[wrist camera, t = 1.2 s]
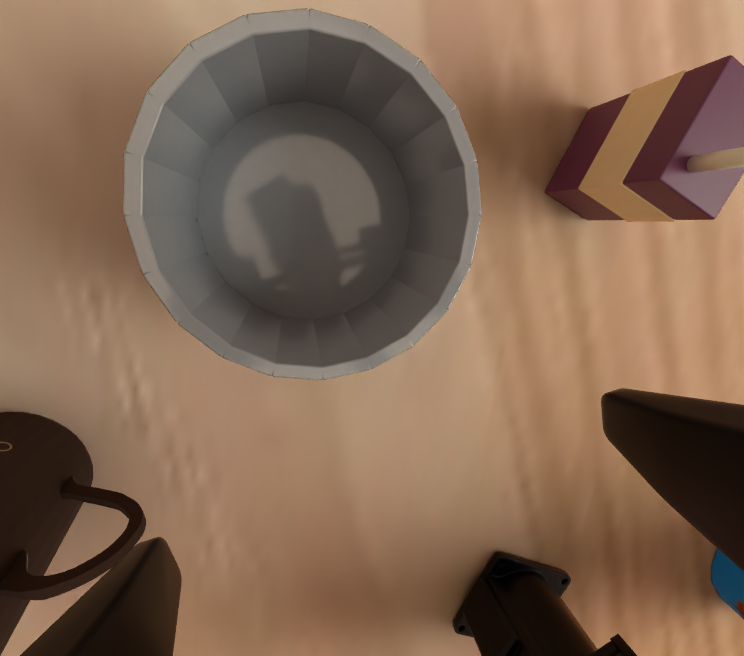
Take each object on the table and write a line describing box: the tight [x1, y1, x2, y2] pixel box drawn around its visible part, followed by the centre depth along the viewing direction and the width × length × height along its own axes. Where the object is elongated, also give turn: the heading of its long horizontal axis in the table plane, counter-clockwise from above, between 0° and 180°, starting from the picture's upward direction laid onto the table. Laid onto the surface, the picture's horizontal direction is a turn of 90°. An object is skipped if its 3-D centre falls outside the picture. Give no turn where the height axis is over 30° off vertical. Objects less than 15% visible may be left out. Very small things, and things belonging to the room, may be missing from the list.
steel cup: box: [123, 8, 482, 380], centre depth 16 cm, size 11×11×8 cm
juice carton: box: [545, 55, 744, 222], centre depth 17 cm, size 3×5×10 cm
